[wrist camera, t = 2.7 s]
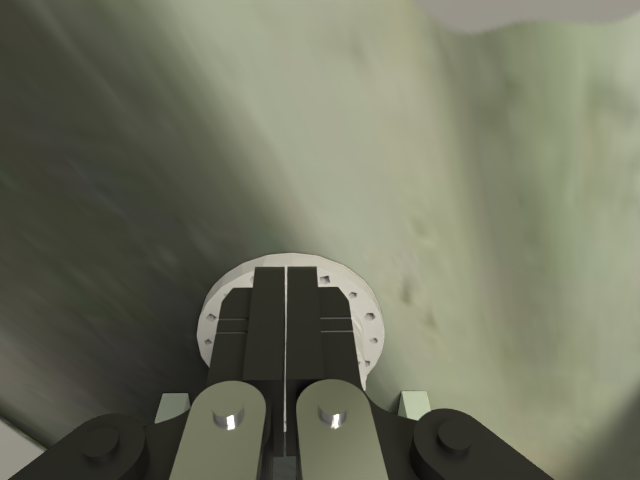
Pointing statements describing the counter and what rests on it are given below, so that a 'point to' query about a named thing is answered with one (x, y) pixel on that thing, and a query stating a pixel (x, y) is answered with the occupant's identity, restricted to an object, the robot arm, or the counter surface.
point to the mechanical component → (329, 275)
